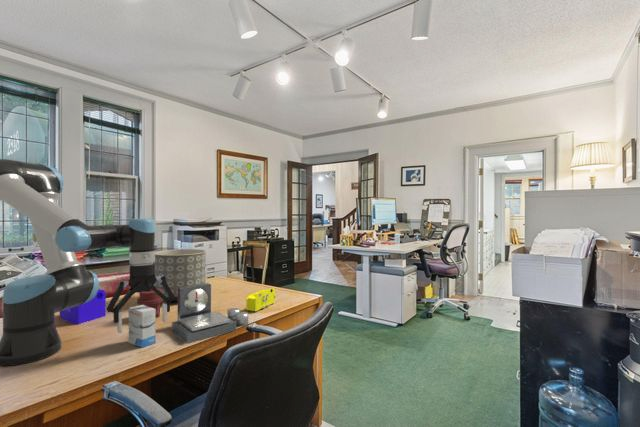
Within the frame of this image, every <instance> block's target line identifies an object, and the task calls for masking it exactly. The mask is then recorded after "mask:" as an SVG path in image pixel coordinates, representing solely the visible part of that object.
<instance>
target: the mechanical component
mask: <svg viewBox="0 0 640 427" xmlns="http://www.w3.org/2000/svg"><path fill="white" fill-rule="evenodd" d="M157 289H158V290H159V291H160V292H161V293H162V289H159V288H157ZM138 294H139V297H138V298H137V299H136V305H137V304H138V306H140V305H145V306H148V307H151V308H154V309H156V310H155V319H156V318H160V314H161V303H164V302H165V301H164V300H163V299H162V298H160V297H159V296H158V295H157V294H156V293H155V292H154V291H153V290H151V289H150V290H149V291H143V292H140V293H138Z"/></svg>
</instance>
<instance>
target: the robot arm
mask: <svg viewBox="0 0 640 427" xmlns="http://www.w3.org/2000/svg"><path fill="white" fill-rule="evenodd" d="M63 187H64V179H63V176H62V174H61V173H60V172H59V171H58V170H57V169H56V168H54V167H52V166H50V165H45V164H42V163H32V162H28V161H26V162H25V161H20V160H14V159H7V158H0V201H3V202H4V203H6V204H8V206H10V207H12V208H13V209H14V210H15V211H17V212H19V213H21V214H22V215H23V216H25V217H26V218H28V219H29V221H30V223H31V227H32V229H33V232H34V235H35V238H36V241H37V244H38V247H39V250H40V252H41V255H42V259H43V261H44V264H45V266H46V271H45V273H44V274H37V275H32V276H26V277H22V278H18V279H15V280H13V281H10V282H9V283H7V284H6V285H5V286H4V288H3V293H2V295H3V296H2V299H1V301H2V336H1V337H0V366H1V367H2V366H3V367H4V366H5V367H7V366H17V365H23V364H28V363H33V362H37V361H40V360H43V359H46V358H48V357H51V356H53V355H54V354H56V353H58V352H59V351H60V350H62V339H61V336H60V334H59V332H58V330H57V328H56V325H55V314H57V313H60V311H63V310H66V309H69V308H72V307H75V306H80V305H82V304H84V303H87V302H89V301H91V300H92V299H93V298H94V297H95V296H96V293H97V292H98V289H100V288H99V287H100V280H99V277H98V275H97V274H96V273H95V272H93V271H91V270H89V269H88V270H87V267H86V265H85V263H83V262H80V261H78V258H77V254H76V253H81V252H85V251H93V250H99V249H107V248H114V247H115V248H116V247H121V248H122V247H128V250H129V251H128V252H129V253H128V254H129V256H128V257H129V260H128V261H129V264H130V266H129V279H128V280H119V281H118V283H117V288H116V289H115V292H114V294H113V296H112V298H111V299H110V301H109V303H108V305H107V307H106V312H108V313H113V315H112V316H113V322H114V324H117V326H116V327H117V328H116V329H117V333H118V334H122V332H123V331H122V330H123V328H122V327H123V326H122V325H123V318H122V317H123V316H122V315H123V314H122V313H123V312H122V311H121V310H122V309H123V307H125V305H126V304H127V303H128V301H129V300H130V299H131V298H132V296H134V295H135V294H136V293H138V294H139V293H140V292H143V291H149V290H150V289H151V290H153V291H154V292H155V293H156V294H157V295H158V296H159V297H160V298H162V299H163V300H164V301H163V302H161V303H162V305H161V306H162V309H161V310H162V322H163V323H164V324H167V323H168V313H170V312H171V303H172V302H175V301H174V300H175V299H176V298H175V296H174V295H173V293H172V291H171V290H170V288H169V286H168V284H167V283H166V278H165V276H163V275H161V276H159V277H156V276H155V264H153V262H155V252H156V250H155V243H156V242H155V239H156V238H155V237H156V236H155V233H156V229H155V220H154V219H152V218H130V219H129V221H128V223H127V224H111V223H109V224H102V225H100V224H99V225H88V224H86V223H85V222H83V221H82V220H80V219H78V218H77V217H76V216H74V215H72V214H71V213H69V211H66V210H64V208H63V207H61V206H60V205H59V204H58V199H60V197H61V193H62V191H63V189H64V188H63ZM157 280H158V282H160V283H161V284H162V286H163V288H164V289H165V291H166V293H167V294H168V296H169V298H167V297H166V296H165V295H164V294H162V293H161V292H160V291H159V290H158V289H157V288H156V287H155V286H154V284H155V283H156V281H157ZM127 286H129V287H130V288H129V289H128V291H127V292H126V294H124V296H123V297H122V298H121V300H119V299H120V296H121V295H122V293H123V290H124V289H125V288H126V287H127ZM118 300H119V301H118ZM117 302H118V303H117Z"/></svg>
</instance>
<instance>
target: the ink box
mask: <svg viewBox="0 0 640 427" xmlns="http://www.w3.org/2000/svg"><path fill="white" fill-rule="evenodd" d="M155 310H156V309H154V308H151V307H148V306H145V305H135V306H130V307H129V308H128V343H129V344H132V345H135V346H137V347H139V348H145V347H147V346H150V345H153V344H156V318H155Z"/></svg>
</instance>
